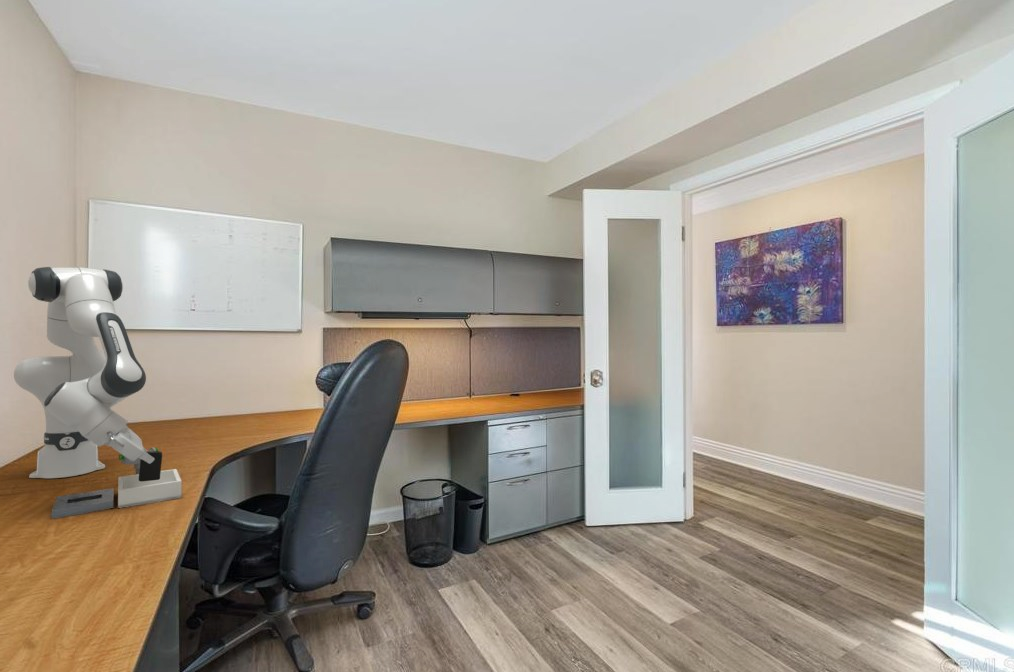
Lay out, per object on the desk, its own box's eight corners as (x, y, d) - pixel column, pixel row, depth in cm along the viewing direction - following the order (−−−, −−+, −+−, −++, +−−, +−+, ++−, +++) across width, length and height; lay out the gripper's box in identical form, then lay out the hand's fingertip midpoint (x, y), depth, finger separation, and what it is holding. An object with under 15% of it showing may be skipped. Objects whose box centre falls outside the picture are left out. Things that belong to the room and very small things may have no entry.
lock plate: (57, 503, 132) (57, 496, 132) (113, 494, 140) (113, 488, 140) (51, 519, 121) (51, 511, 121) (113, 508, 129) (113, 501, 129)
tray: (118, 493, 141) (118, 476, 141) (176, 484, 150) (176, 468, 150) (118, 508, 129) (118, 490, 129) (181, 497, 137) (181, 481, 137)
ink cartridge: (159, 477, 142) (162, 450, 142) (159, 479, 140) (162, 452, 140) (138, 479, 139) (141, 451, 139) (138, 481, 137) (141, 453, 137)
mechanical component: (159, 478, 156) (159, 447, 156) (122, 487, 147) (122, 454, 147) (153, 477, 157) (153, 446, 157) (117, 486, 148) (117, 453, 148)
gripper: (118, 426, 127) (164, 458, 133) (118, 416, 143) (159, 445, 149) (96, 445, 124) (144, 477, 130) (98, 433, 140) (141, 462, 146)
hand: (152, 460), depth 140 cm, fingers closed on ink cartridge, 1 cm apart
